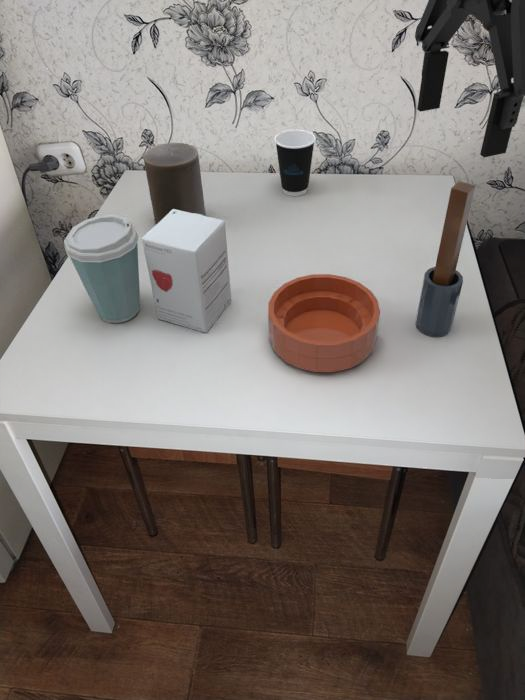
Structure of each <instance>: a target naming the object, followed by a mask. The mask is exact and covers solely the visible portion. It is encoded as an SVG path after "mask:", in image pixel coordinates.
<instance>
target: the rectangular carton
mask: <svg viewBox="0 0 525 700" xmlns="http://www.w3.org/2000/svg"><path fill="white" fill-rule="evenodd" d="M227 242H228V241H227V228H226V220H224V219H219V218H215V217H210V216H207V215H206V216H204V215H201V214H196V213H189V212H185V211H180V210H176V209H172V210H171V211H170V212H169V213H168V214H167V215H166V216H165V217H164V218H163V219H162V220H161V221H160V222H159V223H158V224H157V225H156V224H155V225H154V226H153V227H152V228H150V229H149V230H148V231H147V233H145V234H144V235H143V237H141V244H142V247H143V252H144V257H145V262H146V266H147V272H148V276H149V283H150V286H151V291H152V295H153V296H152V297H153V302H154V307H155V312H156V315H157V319H159V320H161V321H164V322H168V323H171V324H175V325H178V326H182V327H185V328H188V329H191V330H195V331H198V332H201V333H205V334H206V333H208V331H209V330H210V329H211V328H212V327H213V325H214V324H215V322H216V321H217V320H218V319H219V317H220V316H221V315H222V313H223V312H224V311H225V309H226V308H227V307H228V306H229V304H230V303H231V302H232V292H231V291H232V290H231V279H230V267H229V255H228V243H227Z"/></svg>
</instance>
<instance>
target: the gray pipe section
mask: <svg viewBox="0 0 525 700" xmlns="http://www.w3.org/2000/svg"><path fill="white" fill-rule="evenodd" d="M434 271H435V266H432V267H429V268H428V269H427V270H426V271H425V272H424V275H423V276H424V277H423V280H422V285H421V291H420V296H419V301H418V306H417V312H416V319H415V327H416V330H418V331H419V332H420V333H421V334H423V335H424V336H428V337H433V338H441V337H444V336H446V335H448V334H449V333H450V332H451V330H452V327H453V324H454V320H455V316H456V311H457V308H458V303H459V300H460V296H461V291H462V288H463V285H464V277H463V275H462V274H461V272H460V271H458V270H457V269H456V271H455V275H454V280H453V284H452V286H441V285H437V284H435V283H433V282H432V281H433V276H434Z"/></svg>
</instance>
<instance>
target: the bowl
mask: <svg viewBox="0 0 525 700" xmlns="http://www.w3.org/2000/svg"><path fill="white" fill-rule="evenodd" d="M267 308H268V309H267V310H268V311H267V313H268V315H267V316H268V339H269V342H270V344H271V347H272V349H273V351H274V353H275V354H276V355H277V356H278V357H280V358H281V359H282V360H283V361H284V362H285V363H287V364H290V365H292V366H293V367H296V368H298V369H301V370H304V371H310V372H314V373H337V372H340V371H344V370H348V369H351V368H354V367H355V366H357V365H359V364H361V363H362V362H365V360H366V359H367V358H368V357H369V356H370V355H371V354H372V352H373V351H374V349H375V346H376V343H377V338H378V332H379V325H380V324H379V323H380V317H381V309H380V304H379V300H378V299H377V297H376V296H375V294H374V293H373V292H372V291H371V289H369V288H368V287H366V286H365V285H364V284H362V283H361V282H360V281H357V280H354V279H351V278H349V277H346V276H342V275H336V274H331V273H330V274H329V273H318V274H317V273H313V274H308V275H303V276H298V277H296V278H293V279H291V280H289V281H287V282H285V283H283V284H282V285H281V286H280V287H278V289H276V290H275V291H274V292H273V294H272V295H271V297H270V299H269V301H268V307H267Z"/></svg>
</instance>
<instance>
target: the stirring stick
mask: <svg viewBox="0 0 525 700" xmlns="http://www.w3.org/2000/svg"><path fill="white" fill-rule="evenodd" d="M475 189H476V185H474V184H471V183H467V182H464V181H460V180H458V181H457V182H456V183H455V184H454V185H453V186H452V187H451V188H450V192H449V198H448V202H447V208H446V212H445V218H444V223H443V226H442V227H443V228H442V233H441V236H440V242H439V247H438V252H437V257H436V262H435V266H434V267H435V271H434V276H433V281H432V282H433V283H435V284H437V285H441V286H452V284H453V280H454V275H455V271H456V270H457V267H458V262H459V257H460V253H461V250H462V245H463V240H464V237H465V232H466V228H467V223H468V220H469V215H470V211H471V207H472V202H473V198H474V194H475Z"/></svg>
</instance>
